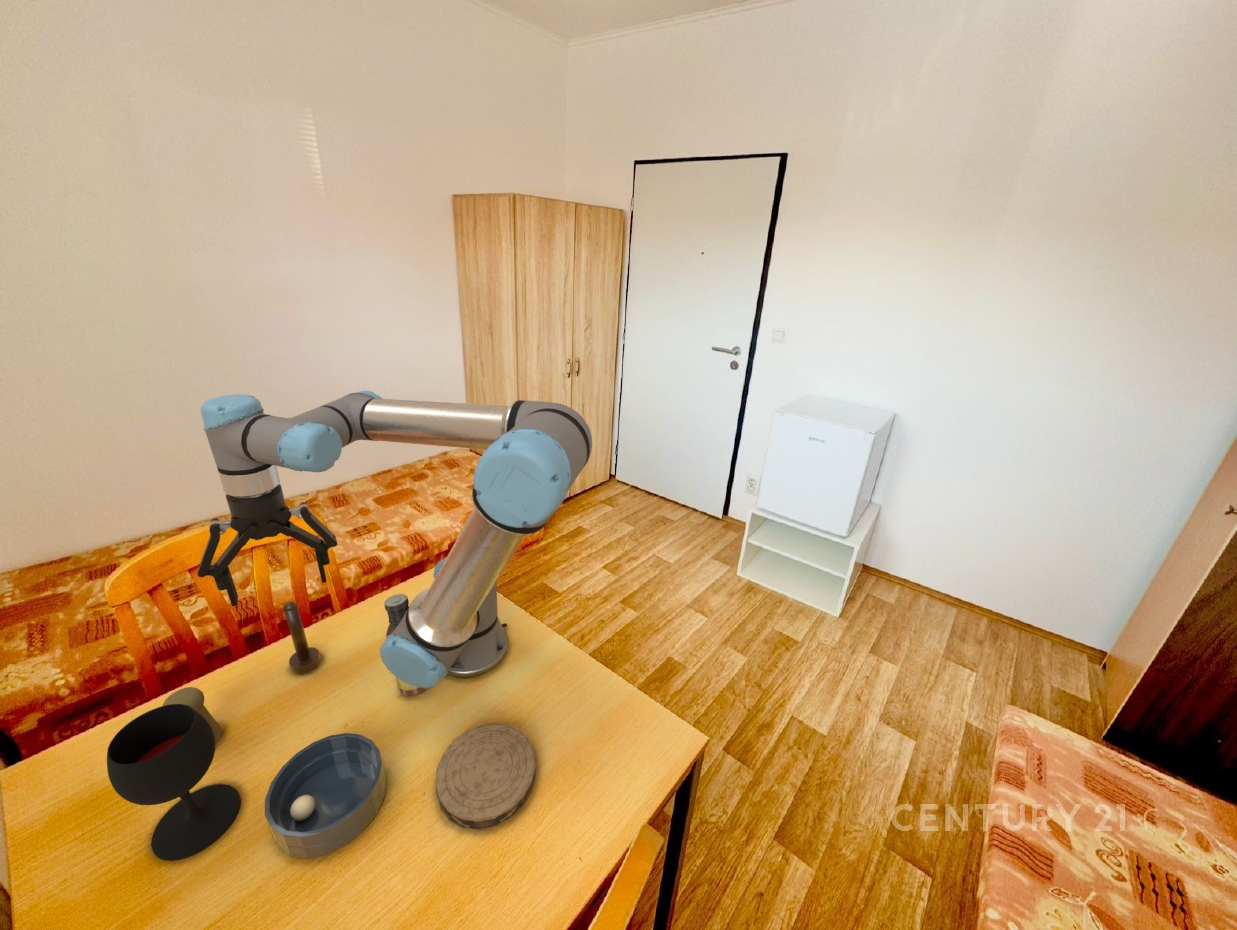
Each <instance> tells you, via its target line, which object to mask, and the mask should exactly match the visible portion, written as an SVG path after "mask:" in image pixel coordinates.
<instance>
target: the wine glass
mask: <svg viewBox="0 0 1237 930" xmlns="http://www.w3.org/2000/svg"><path fill="white" fill-rule="evenodd" d="M215 753H216V745H215V737H214V733H213V730H212V728H211V726H210V725H209V723H208V722H207V720H206V719H205V718H204V717H203V716H202V715H201V714H200V713H198V712H197V711H196V710H194V709H193V708H192V707H190V706H188V705H184V704H170V705H165V706H159V707H155V708H153V709H150V710H148V711H146V712H144V713H142V714H140V715H138V716H136V717H135V718H134V719H132V720H131V721H129V722H128V723H126V724H125V725H124V726H123V727H122V728H121V729H120V730H119V731H118V732H117V733H116V734H115V735H114V737H113V738H112V739H111V741H110V743H109V744H108V747H107V751H106V768H107V776H108V779H109V782H110V784H111V786H112V788H113V790H114V791H115V792H116V793H117V794H118V795H119V797H121V798H122V799H124V801H127V802H129V803H131V804H134V805H139V806H156V805H161V804H165V803H168V802H171V801H174V800H176V799H178V798H179V799H180V800H179V801H178V802H176V803H175V804H173V805H172V806H171V807H170V808H169V809H168V810H167V812H166V813H165V814H164V815H163V816H162V817H161V818H160V820H159V821H158V823H157V825H156V827H155V828H154V830H153V832H152V836H151V841H150V846H151V850H152V852H153V854H154V855H155V856H156V858H158V859H160V860H162V861H166V862H167V861H169V862H171V861H172V862H175V861H180V860H184V859H188V858H190V857H192V856H195V855H197V854H199V853H201V852H203V851H205V850H206V849H208V848H209V847H211V846H212V845H213V844H214V843H215V842H217V841H218V840H219V839H220V838H221V837H222V836H223V835H224V834H225V833H226V832H227V831H228V830H229V829H230V828H231V826H232V824H233V823H234V822H235V820H236V819H237V817H238V815H239V812H240V808H241V804H242V803H241V802H242V801H241V795H240V793H239V792H238V790H237V789H236V788H235V787H234V786H232V785H230V784H225V783H218V784H217V783H216V784H211V785H206V786H204V787H201V788H199V789H196V790H194V791H193V792H191V790H192V789H193V788H194V787H195V786H196V785H198V783H199V782H200V781H201V780H202V779H203V778H204V776H205V775H206V774H207V772H208V770H209V769H210V767H211V765H212V763H213V760H214V757H215Z"/></svg>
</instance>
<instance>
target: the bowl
mask: <svg viewBox="0 0 1237 930" xmlns="http://www.w3.org/2000/svg"><path fill="white" fill-rule="evenodd" d="M269 784H270V785H269V787H268V790H267V793H266V795H265V798H264V816H265V817H264V818H265V819H266V821H267V824H268V826H269V829H270V832H271V835H272V837H273V839H274V840H275V841H274V842H275V843H276V844H277V846H278V849H279V850H281V852H283V853H285V854H287V855H289V856H291V857H294V858H303V859H312V858H317V857H322V856H326V855H329V854H331V853H333V852H335V851H338V850H339V849H341V848H344V847H345V846H347V845H348V844H350V842H351V841H353V840H354V839H356V837H358V836H359V835H360V834H362V832H364V831H365V829H367V827H368V826H369V824H370V823H371V822H372V821H373V820H374V818H375V817H376V815H377V814H378V811H379V810H380V807H381V805H382V803H383V802H384V799H385V794H386V788H387V781H386V774H385V770H384V765H383V760H382V755H381V751H380V749H379V747H378V746H377V745H376V743H375V742H374V740H372V739H371V738H369V737H366V736H364V735H362V734H359V733H350V732H344V733H338V734H331V735H328V736H326V737H323V738H320V739H318V740H316V741H313V742H312V743H310V744H308V745H306V747H303V748H302V749H301V750H299V751H297V752H296V753H295V754H294V755H293V756H292V757H291V758H290V759H289V760H287V762H286V763H285V764H283V765H282V766H281V768H279V770H278V772H277V773H276V774H275V777H274V778H273V779H272V781H271V782H270V783H269ZM303 795H310V796H312V797H313V798H314V800H315V808H314V811H313V812H312V814H311V815H310V816H309V817H308V818H306V819H304V820H301V821H296V820H294V819H293V818H292V817H291V815H290V809H291V806H292V804H293V802H294V801H295V800H296V799H297V798H299V797H300V796H303Z"/></svg>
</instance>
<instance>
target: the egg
mask: <svg viewBox="0 0 1237 930" xmlns="http://www.w3.org/2000/svg"><path fill="white" fill-rule="evenodd" d="M314 808H315V800H314V798H313V797H312V796H310V795H303V796H300V797H299V798H297V799H296V800H295V801H294V802H293V804H292V806H291V809H290V815H291V817H292V818H293V819H294V820H296V821H301V820H304V819H306V818H308V817H309V816H310V815H311V814H312V812H313V811H314Z"/></svg>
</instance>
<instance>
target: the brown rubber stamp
mask: <svg viewBox="0 0 1237 930" xmlns="http://www.w3.org/2000/svg"><path fill="white" fill-rule="evenodd" d="M283 612H284V616H285V619H286V622H287V626H288V630H289V633H290V637H291V640H292V643H293V647H294V650H295V652H293V654H292V655H291V656H290V657H289V660H288V664H289V668H290V670H291V672H292V674H294V675H305V674H308V673H311V672H313V671H315V670H316V669H317V668H318V667H319V666H320V664H321V662H322V658H321V654H320V651H319V649H318V648H317V647H314V646H309V644H308V640H307V637H306V632H305V629H304V623H303V622H302V617H301V614H300V610H299V606H298V603H297V602H295V601H293V600H290V601H287V602H286V603H285V604H284V605H283Z"/></svg>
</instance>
